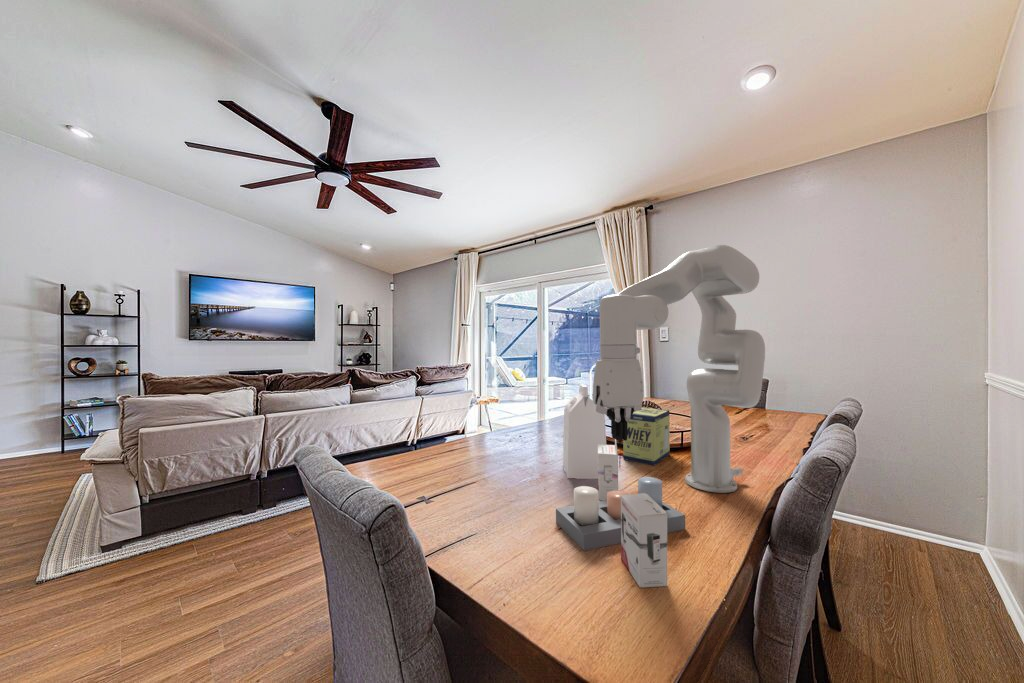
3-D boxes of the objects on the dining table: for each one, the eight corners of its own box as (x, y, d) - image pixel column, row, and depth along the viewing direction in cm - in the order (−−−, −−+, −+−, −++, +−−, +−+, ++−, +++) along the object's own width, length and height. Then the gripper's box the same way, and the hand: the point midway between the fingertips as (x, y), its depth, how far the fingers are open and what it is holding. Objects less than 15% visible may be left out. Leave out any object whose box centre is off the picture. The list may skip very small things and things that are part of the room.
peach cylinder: (622, 516, 83) (621, 489, 83) (636, 526, 79) (636, 498, 79) (602, 519, 82) (602, 492, 82) (616, 530, 77) (615, 501, 77)
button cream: (590, 512, 81) (590, 484, 81) (603, 523, 76) (603, 493, 76) (569, 516, 79) (569, 488, 79) (581, 527, 74) (581, 497, 74)
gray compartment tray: (647, 505, 90) (646, 493, 90) (685, 529, 78) (685, 514, 78) (555, 522, 82) (555, 508, 82) (583, 551, 71) (583, 535, 71)
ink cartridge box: (597, 487, 101) (596, 432, 101) (616, 488, 100) (616, 433, 100) (598, 500, 93) (597, 441, 93) (618, 502, 92) (618, 441, 92)
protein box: (622, 459, 125) (622, 412, 125) (640, 449, 137) (640, 406, 137) (654, 466, 118) (654, 416, 118) (670, 454, 130) (670, 409, 130)
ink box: (619, 557, 68) (619, 493, 68) (645, 556, 69) (645, 492, 69) (639, 589, 60) (639, 515, 60) (669, 587, 60) (668, 513, 60)
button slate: (651, 502, 86) (651, 475, 86) (667, 511, 81) (667, 483, 81) (633, 505, 84) (633, 478, 84) (648, 514, 80) (648, 486, 80)
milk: (608, 478, 108) (607, 387, 108) (567, 478, 108) (567, 388, 108) (598, 464, 120) (598, 383, 120) (562, 465, 120) (562, 383, 120)
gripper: (636, 351, 86) (637, 431, 86) (578, 353, 81) (579, 438, 81) (659, 352, 79) (660, 440, 79) (597, 355, 74) (598, 447, 74)
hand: (619, 439), depth 80 cm, fingers closed
